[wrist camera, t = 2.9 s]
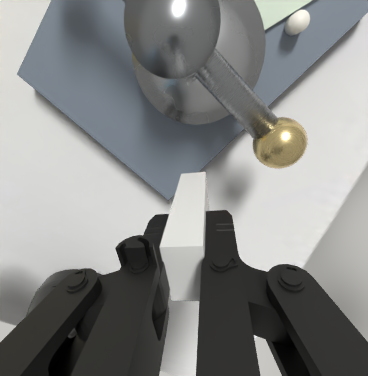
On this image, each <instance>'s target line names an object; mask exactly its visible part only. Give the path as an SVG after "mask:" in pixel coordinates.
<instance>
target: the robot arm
mask: <svg viewBox="0 0 368 376" xmlns="http://www.w3.org/2000/svg"><path fill="white" fill-rule="evenodd" d="M115 249H116V252H117V254H118V257H119V260H120V263H121V268H120V270H119V271H116V272H113V273H109V274H106V275H101V274H98V273H96V271H95V270H93V269H81V270H64V271H60V272H57V273H55V274H53V275H51V276H50V277H48V278H47V279H46V281H45V282H44V283H43V284H42V286H41V287H40V288H39V289H38V291H37V292H36V293H35V295H34V297H33V299H32V302H31V305H30V307H29V310H28V312H27V315H26V317H25V318H24V319H23V320H22V321H21V322H20V323H19V324H18V325H17V326H16V327H15V328H14V329H13V330H12V331H11V332H10V333H9V334H8V335H7V336H6V337H5V338H4V339H3V340H2V341H1V342H0V376H159V372H160V366H161V360H162V354H163V348H164V343H165V337H166V331H167V325H168V319H169V307H168V298H169V293H170V296H171V301H200V303H199V324H198V345H197V366H196V376H260V371H259V365H258V359H257V353H256V347H255V341H254V335H256V336H258V337H261V338H264V339H266V341H267V343H268V346H269V348H270V350H271V352H272V354H273V357H274V359H275V361H276V363H277V365H278V368H279V370H280V372H281V374H282V376H368V342H367V341H366V339H365V338H364V337H363V336H362V335H361V334H360V332H359V331H358V330H357V329H356V328H355V326H354V325H353V324H352V323H351V322H350V321H349V319H348V318H347V317H346V316H345V315H344V313H343V312H342V311H341V310H340V309H339V307H338V306H337V305H336V304H335V303H334V302H333V300H332V299H331V298H330V297H329V296H328V294H327V293H326V292H325V291H324V290H323V289H322V287H321V286H320V285H319V284H318V283H317V282H316V280H315V279H314V278H313V277H312V276H311V275H310V274H309V273H307V271H305V270H303V269H301V268H299V267H297V266H294V265H289V264H280V265H277V266H274V267H272V268H271V269H270V270H269V271H268V272H266V271H262V270H258V269H255V268H252V267H250V266H248V265H246V264H245V263H244V262H243V261H242V260H241V259H240V257H239V254H238V250H237V244H236V238H235V232H234V225H233V219H232V215H231V214H230V213H229V212H228V211H227V210H221V211H209V201H208V190H207V179H206V172H197V173H184V174H181V176H180V180H179V183H178V186H177V190H176V193H175V196H174V200H173V203H172V207H171V210H170V213H169V214H159V215H155V216H154V217H153V218H152V219H151V220H150V221H149V223H148V225H147V229H146V230H145V232H144V235H143V236H142V235H138V236H132V237H130V238H127V239H125V240H123V241H122V242H121V243H119V244H118V246H117V247H116V248H115Z"/></svg>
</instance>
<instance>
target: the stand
mask: <svg viewBox="0 0 368 376" xmlns="http://www.w3.org/2000/svg"><path fill="white" fill-rule="evenodd" d="M254 1H255V3H256V5H257V7H258V9H259V11H260V14H261V17H262V20H263V25H264V30H265V41H266V45H265V57H264V63H263V67H262V70H261V74H260V76H259V79H258V81H257V83H256V85H255V87H254V89H253V91H254V92H255V93H256V94H257V95H258V97H259V98H260V99H261V100H262V101H263V102H264V103H265V104H266V106H267V107H268V106H269V105H270V104H271V103H272V102H273V101H274V100H275V99H276V98H277V97H279V96H280V95H281V94H282V93H283V92H284V91H285V90H286V89H287V88H288V87H289V86H290V85H291V84H292V83H293V82H294V81H295V80H297V79H298V78H299V77H300V76H301V75H302V74H303V73H304V72H305V71H306V70H307V69H308V68H309V67H310V66H311V65H312V64H313V63H315V62H316V61H317V60H318V59H319V58H320V57H321V56H322V55H323V54H324V53H325V52H326V51H327V50H328V49H329V48H330V47H332V46H333V45H334V44H335V43H336V42H337V41H338V40H339V39H340V38H341V37H342V36H343V35H344V34H345V33H346V32H347V31H348V30H350V29H351V28H352V27H353V26H354V25H355V24H356V23H357V22H358V21H359V20H360V19H361V18H362V17H363V16H364V15H365V14H366V13H368V0H254ZM124 9H125V3H124V2H123V1H122V0H51V2H50V5H49V7H48V9H47V11H46V13H45V15H44V17H43V20H42V22H41V24H40V26H39V28H38V30H37V32H36V35H35V37H34V39H33V41H32V43H31V45H30V47H29V50H28V52H27V54H26V56H25V58H24V60H23V62H22V64H21V67H20V69H19V71H18V73H17V75H18V76H20V77H21V78H22V79H23V80H24V81H26V82H27V83H28V84H29V85H30V86H32V87H33V88H34V89H35V90H36V91H38V92H39V93H40V94H41V95H42V96H44V97H45V98H46V99H47V100H48V101H50V102H51V103H52V104H53V105H54V106H56V107H57V108H58V109H59V110H60V111H62V112H63V113H64V114H65V115H66V116H68V117H69V118H70V119H71V120H72V121H74V122H75V123H76V124H77V125H78V126H80V127H81V128H82V129H83V130H84V131H86V132H87V133H88V134H89V135H90V136H92V137H93V138H94V139H95V140H96V141H98V142H99V143H100V144H101V145H102V146H104V147H105V148H106V149H107V150H108V151H110V152H111V153H112V154H113V155H114V156H116V157H117V158H118V159H119V160H120V161H122V162H123V163H124V164H125V165H126V166H128V167H129V168H130V169H131V170H132V171H134V172H135V173H136V174H137V175H138V176H140V177H141V178H142V179H143V180H144V181H146V182H147V183H148V184H149V185H150V186H152V187H153V188H154V189H155V190H156V191H158V192H159V193H160V194H161V195H162V196H164V197H165V198H166V199H167V200H169V199H171V198H172V197H173V196H174V195H175V193H176V190H177V186H178V183H179V180H180V176H181V174H184V173H197V172H199V171H200V170H201V169H202V168H203V167H204V166H205V165H207V164H208V163H209V162H210V161H211V160H212V159H213V158H214V157H215V156H216V155H217V154H218V153H219V152H220V151H221V150H222V149H223V148H225V147H226V146H227V145H228V144H229V143H230V142H231V141H232V140H233V139H234V138H235V137H236V136H237V135H238V134H239V133H240V132H241V131H243V130H244V128H243V127H242V126H241V125H240V124H239V123H238V122H237V121H236V120H235V119H234V118H233V117H232V115H231V114H229V115H228V116H226V117H224V118H222V119H220V120H218V121H215V122H212V123H207V124H199V125H194V124H185V123H181V122H178V121H175V120H173V119H171V118H169V117H167V116H165V115H164V114H162V113H161V112H160V111H158V110H157V109H156V108H155V107H154V106H153V105H152V104H151V103H150V102H149V100H148V99H147V97H146V96H145V95H144V93H143V91H142V89H141V88H140V85H139V83H138V81H137V78H136V74H135V71H134V66H133V61H132V51H131V49H130V47H129V45H128V42H127V38H126V35H125V29H124Z"/></svg>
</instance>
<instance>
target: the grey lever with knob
mask: <svg viewBox="0 0 368 376" xmlns="http://www.w3.org/2000/svg"><path fill="white" fill-rule="evenodd" d="M122 1H123V2H124V3H125V9H124V29H125V35H126V38H127V42H128V45H129V47H130V49H131V51H132V61H133V66H134V71H135V74H136V78H137V81H138V83H139V85H140V88H141V89H142V91H143V93H144V95H145V96H146V97H147V99H148V100H149V102H150V103H151V104H152V105H153V106H154V107H155V108H156V109H157V110H158V111H160V112H161V113H162V114H164V115H165V116H167V117H169V118H171V119H173V120H175V121H178V122H181V123H185V124H194V125H199V124H207V123H212V122H215V121H218V120H220V119H222V118H224V117H226V116H228V115H229V114H231V115H232V117H233V118H234V119H235V120H236V121H237V122H238V123H239V124H240V125H241V126H242V127H243V128H244V129H245V130H246V131H247V132H248V133H249V134H250V135H251V137H252V138H253V151H254V154H255V156H256V157H257V159H258V160H259V161H260V162H261V163H262V164H264V165H265V166H268V167H270V168H278V169H279V168H285V167H289V166H291V165H293V164H295V163H296V162H297V161H298V160H299V159H300V158H301V157H302V156H303V154H304V153H305V150H306V147H307V135H306V132H305V130H304V128H303V127H302V126H301V125H300V124H299V123H298V122H297V121H295V120H293V119H290V118H285V117H280V118H277V117H276V116H275V115H274V114H273V112H272V111H271V110H270V109H269V108H268V107H267V106H266V104H265V103H264V102H263V101H262V100H261V99H260V98H259V97H258V95H257V94H256V93H255V92H254V91H253V89H254V87H255V85H256V83H257V81H258V79H259V76H260V74H261V70H262V67H263V63H264V57H265V45H266V41H265V30H264V25H263V20H262V17H261V14H260V11H259V9H258V7H257V5H256V3H255V1H254V0H122Z"/></svg>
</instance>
